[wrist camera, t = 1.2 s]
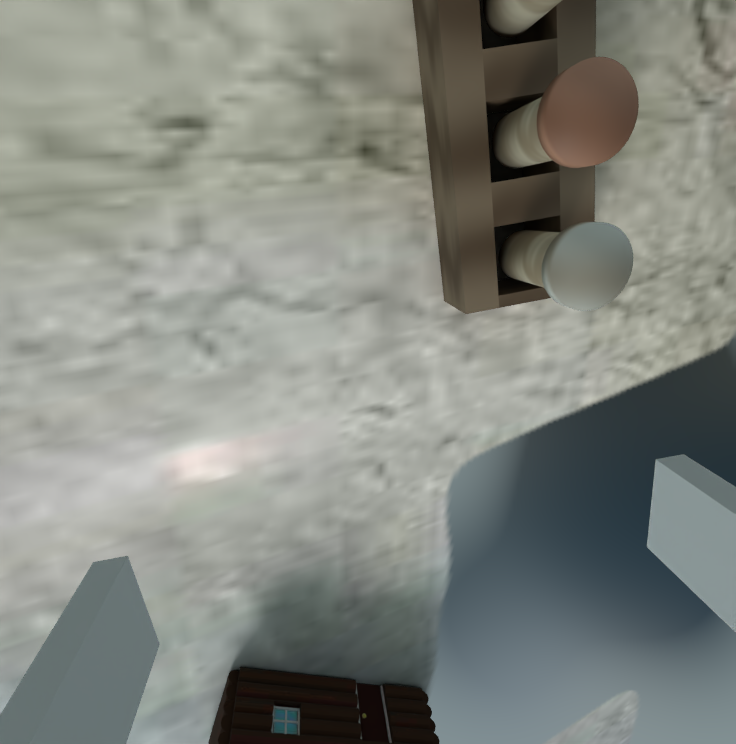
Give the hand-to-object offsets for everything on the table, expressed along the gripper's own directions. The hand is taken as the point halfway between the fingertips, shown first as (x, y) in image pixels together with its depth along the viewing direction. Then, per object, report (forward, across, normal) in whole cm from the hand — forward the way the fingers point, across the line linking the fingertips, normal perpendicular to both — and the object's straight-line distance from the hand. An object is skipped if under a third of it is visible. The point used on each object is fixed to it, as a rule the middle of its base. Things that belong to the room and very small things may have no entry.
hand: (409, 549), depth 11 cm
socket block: (+25, +12, +11) cm, 30 cm away
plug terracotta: (+21, +12, +11) cm, 27 cm away
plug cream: (+21, +13, +4) cm, 25 cm away
